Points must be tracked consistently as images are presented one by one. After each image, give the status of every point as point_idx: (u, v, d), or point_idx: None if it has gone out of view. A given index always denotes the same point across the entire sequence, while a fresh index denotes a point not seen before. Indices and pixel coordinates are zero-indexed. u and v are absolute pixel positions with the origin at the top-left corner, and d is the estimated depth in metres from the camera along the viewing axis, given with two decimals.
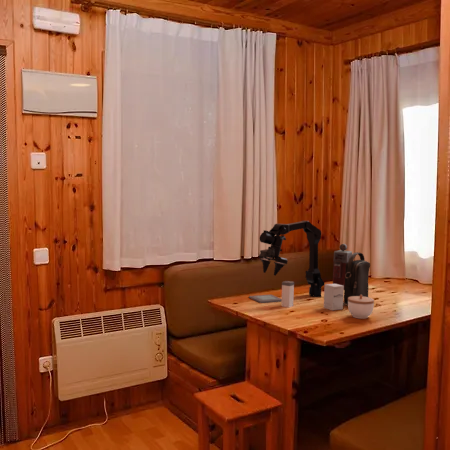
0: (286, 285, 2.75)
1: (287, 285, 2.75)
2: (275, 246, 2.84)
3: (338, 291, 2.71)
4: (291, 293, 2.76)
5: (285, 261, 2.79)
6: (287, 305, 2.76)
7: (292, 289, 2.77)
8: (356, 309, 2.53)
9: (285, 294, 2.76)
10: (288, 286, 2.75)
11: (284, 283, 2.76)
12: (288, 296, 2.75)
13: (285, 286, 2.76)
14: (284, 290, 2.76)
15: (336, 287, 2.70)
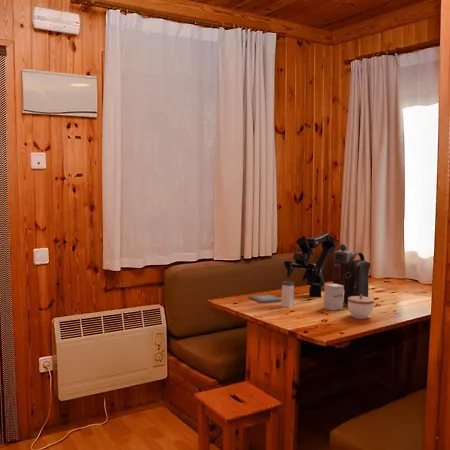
0: (286, 285, 2.75)
1: (287, 285, 2.75)
2: (307, 255, 2.89)
3: (338, 291, 2.71)
4: (291, 293, 2.76)
5: (316, 269, 2.83)
6: (287, 305, 2.76)
7: (292, 289, 2.77)
8: (356, 309, 2.53)
9: (285, 294, 2.76)
10: (288, 286, 2.75)
11: (284, 283, 2.76)
12: (288, 296, 2.75)
13: (285, 286, 2.76)
14: (284, 290, 2.76)
15: (336, 287, 2.70)
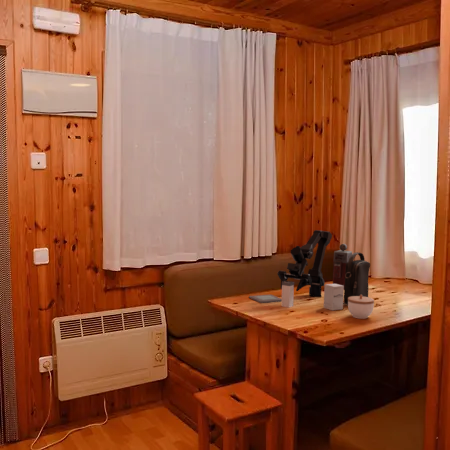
0: (286, 285, 2.75)
1: (287, 285, 2.75)
2: (301, 265, 2.84)
3: (338, 291, 2.71)
4: (291, 293, 2.76)
5: (310, 280, 2.78)
6: (287, 305, 2.76)
7: (292, 289, 2.77)
8: (356, 309, 2.53)
9: (285, 294, 2.76)
10: (288, 286, 2.75)
11: (284, 283, 2.76)
12: (288, 296, 2.75)
13: (285, 286, 2.76)
14: (284, 290, 2.76)
15: (336, 287, 2.70)
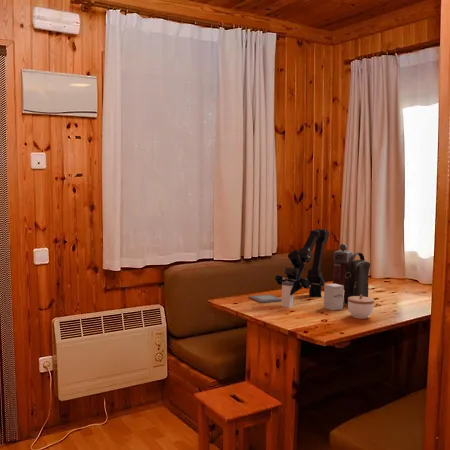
0: (286, 285, 2.75)
1: (287, 285, 2.75)
2: (299, 269, 2.82)
3: (338, 291, 2.71)
4: None
5: (308, 284, 2.76)
6: (287, 305, 2.76)
7: None
8: (356, 309, 2.53)
9: (285, 294, 2.76)
10: (288, 286, 2.75)
11: (284, 283, 2.76)
12: (288, 296, 2.75)
13: (285, 286, 2.76)
14: (284, 290, 2.76)
15: (336, 287, 2.70)
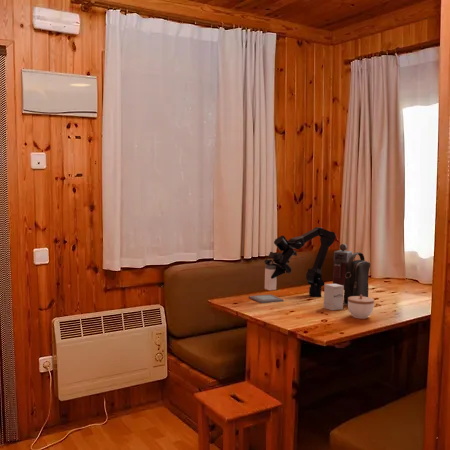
0: (268, 268, 2.85)
1: (268, 268, 2.85)
2: (285, 254, 2.89)
3: (338, 291, 2.71)
4: None
5: (289, 269, 2.82)
6: (268, 288, 2.85)
7: None
8: (356, 309, 2.53)
9: (267, 277, 2.86)
10: (269, 269, 2.84)
11: (266, 266, 2.86)
12: (269, 279, 2.85)
13: (267, 269, 2.86)
14: (266, 273, 2.87)
15: (336, 287, 2.70)
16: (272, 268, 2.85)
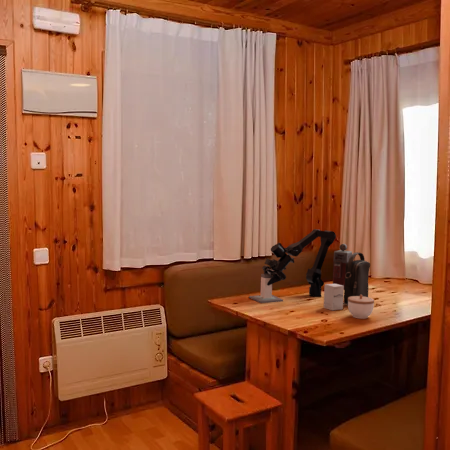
0: (263, 277, 2.90)
1: (263, 277, 2.90)
2: (281, 261, 2.92)
3: (338, 291, 2.71)
4: (267, 285, 2.90)
5: (283, 276, 2.85)
6: (263, 296, 2.90)
7: None
8: (356, 309, 2.53)
9: (262, 286, 2.91)
10: (264, 278, 2.89)
11: (262, 275, 2.91)
12: (264, 288, 2.90)
13: (262, 278, 2.91)
14: (262, 281, 2.92)
15: (336, 287, 2.70)
16: (267, 277, 2.89)
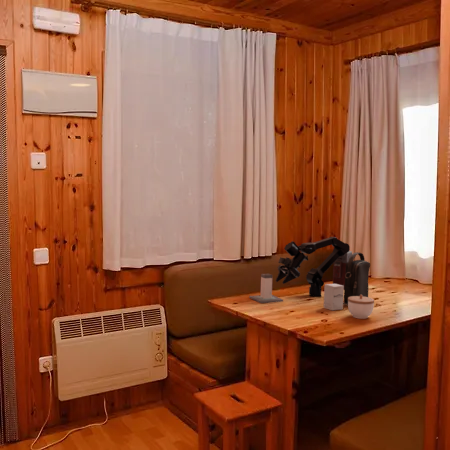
0: (263, 277, 2.90)
1: (263, 277, 2.90)
2: (295, 259, 2.96)
3: (338, 291, 2.71)
4: (267, 286, 2.90)
5: (297, 273, 2.89)
6: (263, 296, 2.90)
7: (269, 282, 2.90)
8: (356, 309, 2.53)
9: (262, 286, 2.91)
10: (264, 278, 2.89)
11: (262, 275, 2.91)
12: (264, 288, 2.90)
13: (262, 278, 2.91)
14: (262, 281, 2.92)
15: (336, 287, 2.70)
16: (267, 277, 2.89)
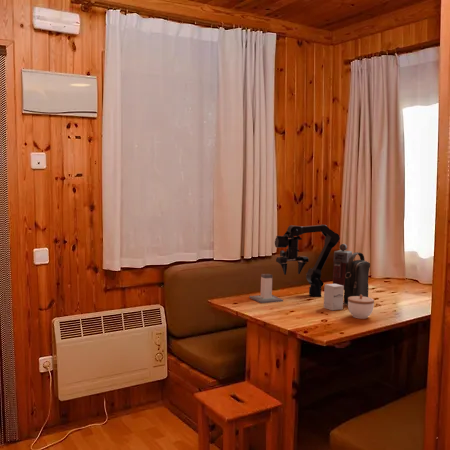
0: (263, 277, 2.90)
1: (263, 277, 2.90)
2: None
3: (338, 291, 2.71)
4: (267, 286, 2.90)
5: (279, 260, 2.95)
6: (263, 296, 2.90)
7: (269, 282, 2.90)
8: (356, 309, 2.53)
9: (262, 286, 2.91)
10: (264, 278, 2.89)
11: (262, 275, 2.91)
12: (264, 288, 2.90)
13: (262, 278, 2.91)
14: (262, 281, 2.92)
15: (336, 287, 2.70)
16: (267, 277, 2.89)
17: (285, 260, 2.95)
